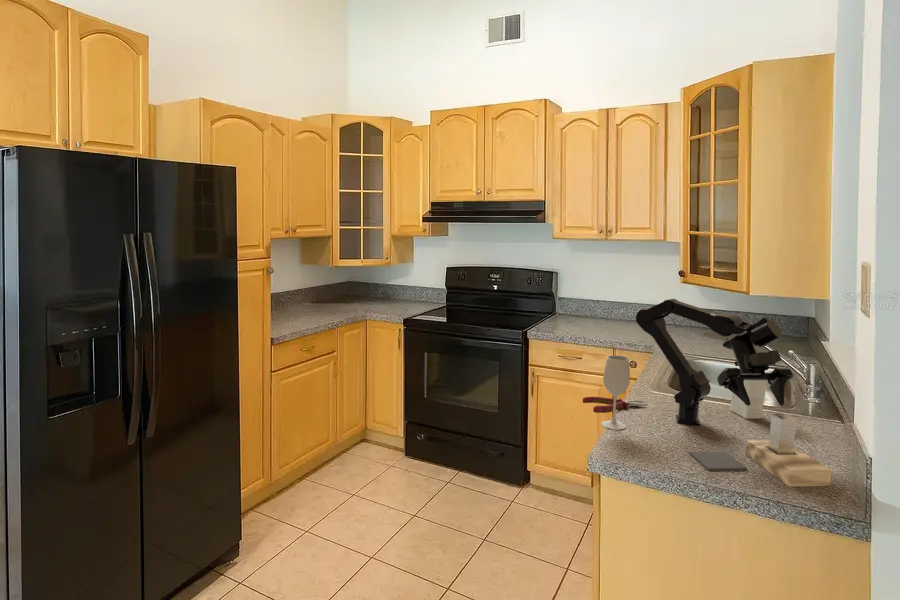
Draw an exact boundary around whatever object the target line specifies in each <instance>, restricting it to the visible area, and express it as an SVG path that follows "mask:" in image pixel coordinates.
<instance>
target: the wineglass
mask: <svg viewBox="0 0 900 600" xmlns="http://www.w3.org/2000/svg"><path fill="white" fill-rule="evenodd" d="M602 377H603V378H602V381H603V382H602V383H603V385H604V387H605V389H606V390H607V391H608V392H609V393H610V394H611V395H612V397H613V399H614V405H613V412H612V419H610V420H604V421H602V422H601V423H600V426H602V427H603V428H605V429H607V430H613V431H621V430H620V429H623V430H625V429H626V428H627V426H626V424H625V423H623V422H620V421H618V420H617V419H616V411H617V410H616V400H617V399H618V398H619V397H618V396H620V395H621V394H623V393H624V392H626V390H627V389H628V387H629V386H630V381H631V370H630V362H629V357H627V356H623V355H619V354H618V355H617V354H615V355H613V354H612V355H607V357H606V362H605V365H604V370H603V375H602ZM609 424H610V425H609ZM608 425H609V426H608ZM607 426H608V428H609V429H608V428H607ZM624 428H625V429H624Z"/></svg>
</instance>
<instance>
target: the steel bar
mask: <svg viewBox="0 0 900 600" xmlns="http://www.w3.org/2000/svg"><path fill="white" fill-rule="evenodd" d="M797 423H798V419H797V418H795V417H793V416H792V415H789V414H788V413H771V417H770V427H769V428H770V429H769V430H770V431H769V437H768V440H769V445H768V449H769V450H770V451H772V452H773V453H775V454H776V455H793V451H794V447H795V441H796V440H795V439H796V435H797V434H796V433H797V432H796V430H797Z"/></svg>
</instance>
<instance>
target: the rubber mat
mask: <svg viewBox="0 0 900 600" xmlns="http://www.w3.org/2000/svg"><path fill="white" fill-rule="evenodd" d="M688 454H689V455H690V456H691V457H692V458H693V459H694V460H695V461H696V462H698V463H699V464H700V465H701V466H702V467H704V468H705V469H706V470H707V471H747V470H748V467H746V466H745V465H744V464H743V463H741V462H740V461H739V460H737V459H736V458H735V457H734V456H732V455H731V454H730V453H728V452H727V451H689V452H688Z"/></svg>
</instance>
